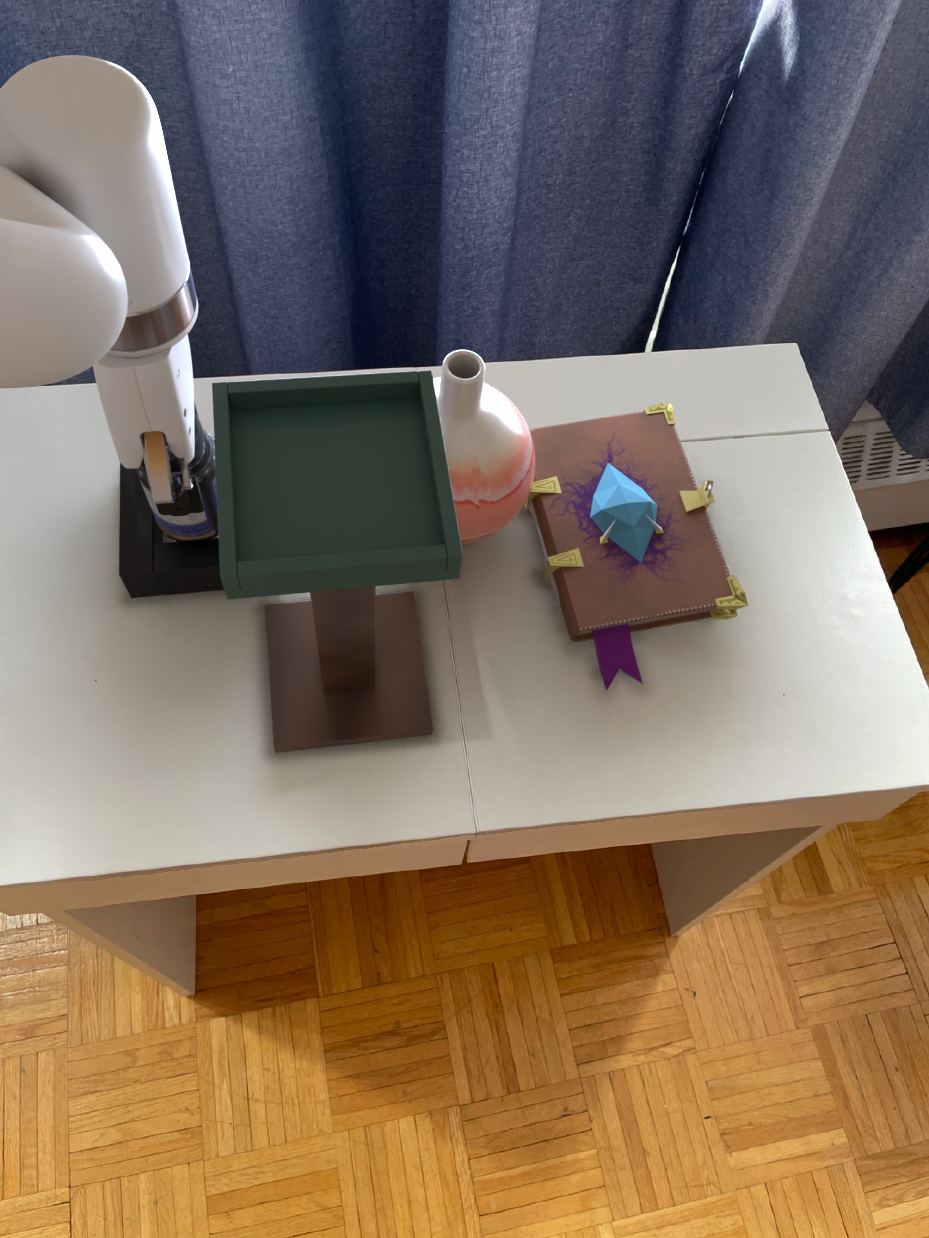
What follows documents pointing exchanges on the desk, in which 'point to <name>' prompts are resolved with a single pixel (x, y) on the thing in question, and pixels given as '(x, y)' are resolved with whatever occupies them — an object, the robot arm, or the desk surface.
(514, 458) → the vase
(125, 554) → the holder
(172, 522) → the pill bottle
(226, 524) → the tray
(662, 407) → the book
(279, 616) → the stand
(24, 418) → the desk surface
